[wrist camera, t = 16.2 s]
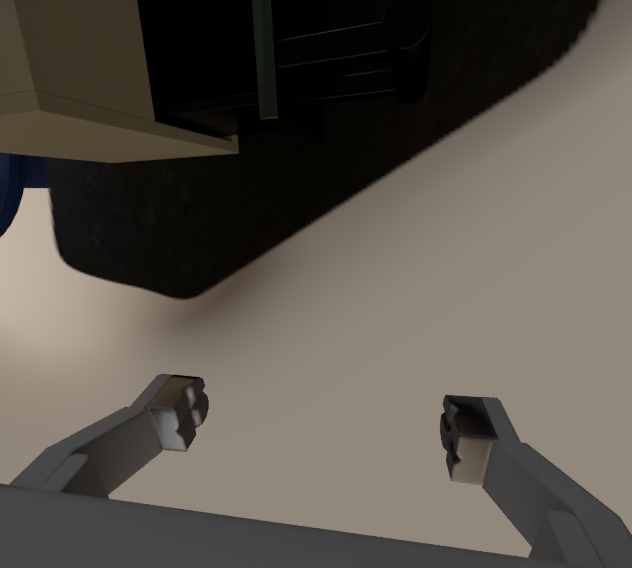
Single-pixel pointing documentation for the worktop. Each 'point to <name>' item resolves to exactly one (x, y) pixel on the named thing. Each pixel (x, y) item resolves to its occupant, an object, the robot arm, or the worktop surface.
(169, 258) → the worktop surface
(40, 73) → the cube with dark spot
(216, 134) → the door with handle
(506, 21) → the worktop surface
